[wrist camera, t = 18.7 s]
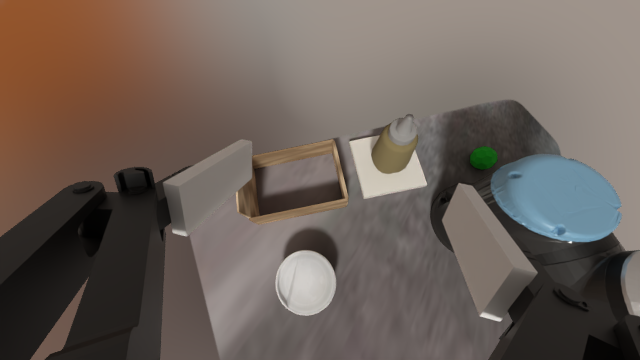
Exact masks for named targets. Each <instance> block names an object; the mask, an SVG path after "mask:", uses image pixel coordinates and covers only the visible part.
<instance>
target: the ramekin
mask: <svg viewBox="0 0 640 360" xmlns="http://www.w3.org/2000/svg"><path fill="white" fill-rule="evenodd" d="M275 285H276V291H277V294H278V297H279V299H280V301H281V302H282V304H283V305H284V306H285V307H286V308H287V309H288V310H290V311H291V312H293V313H296V314H299V315H313V314H316V313H318V312H320V311H322V310H323V309H324V308H326V307H327V306H328V304H329V303H330V302H331V301H332V299H333V296H334V294H335V290H336V276H335V272H334V269H333V267H332V265H331V264H330V262H329V261H328V260H327V259H326V258H325V257H324V256H323V255H321V254H319V253H317V252H315V251H311V250H300V251H296V252H294V253H292V254H290V255H289V256H288V257H286V258H285V259H284V261H283V262H282V263H281V265H280V266H279V268H278V271H277V274H276V281H275Z"/></svg>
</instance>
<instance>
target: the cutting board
mask: <svg viewBox="0 0 640 360" xmlns="http://www.w3.org/2000/svg"><path fill="white" fill-rule="evenodd" d="M379 136H380V135H378V136H373V137H368V138H363V139H358V140H354V141H349V145H350V149H351V153H352V156H353V160H354V164H355V168H356V172H357V176H358V179H359V183H360V187H361V191H362V195H363V198H364V199H366V198H371V197H376V196H381V195H385V194H390V193H395V192H400V191H405V190H410V189H415V188H420V187H424V186H426V185H427V182H426V180H425V177H424V174H423V171H422V168H421V166H420V163H419V160H418V157H417V155H416V152H415V150H414V152H413V154H412V157H411V159H410V161H409V163H408V165H407V166H406V168H405V169H403V170H402V171H400V172H397V173H391V174H385V173H382V172H380V171H378V169H377V168H376V167H375V165H374V163H373V161H372V157H371V153H372V149H373V147H374V145H375V143H376V142H377V140H378V138H379Z"/></svg>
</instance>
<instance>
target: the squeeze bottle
mask: <svg viewBox="0 0 640 360" xmlns="http://www.w3.org/2000/svg"><path fill="white" fill-rule="evenodd" d="M417 143H418V135H417V127H416V125H415V123H414V122H413V115H411V114H408V115H406V117H404V118H399V119H396V120H395V121H393V122H392V123H390V124H389V125H387V126H386V127H385V128H384V130H383V131H382V133H381V135H380V136H379V138H378V140H377V142H376V143H375V145H374V147H373V149H372V153H371V157H372V161H373V163H374V165H375V167H376V168H377V169H378V171H380V172H382V173H385V174H391V173H397V172H400V171H402V170H403V169H405V168H406V166H407V165H408V163H409V161H410V159H411V157H412V154H413V152H414V150H415V148H416V145H417Z"/></svg>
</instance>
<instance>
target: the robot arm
mask: <svg viewBox="0 0 640 360" xmlns="http://www.w3.org/2000/svg"><path fill="white" fill-rule="evenodd" d="M114 178H115V182H116V185H117V188H118V191H119V192H105V189H104V186H103V184H102V183H100V182H95V181H89V182H88V181H84V182H81V183H80V182H78V183H75V184H73V185H70V186H68V187H66V188H64V189H63V190H62V191H60V192H59V193H58V194H56V195H55V196H54V197H52V198H51V199H50V200H48V201H47V202H46V203H44V204H43V205H42V206H40V207H39V208H38V209H37V210H35V211H34V212H33V213H32V214H30V215H29V216H27V217H26V218H25V219H23V220H22V221H21V222H19V223H18V224H17V225H15V226H14V227H13V228H12V229H10V230H9V231H8V232H6V233H5V234H4V235H2V236H1V237H0V360H30V359H31V357H32V356H33V355H34V353H35V352H36V350H37V349H38V348H39V346H40V345H41V343H42V342H43V341H44V339H45V338H46V336H47V335H48V333H49V332H50V331H51V329H52V328H53V326H54V325H55V323H56V322H57V321H58V319H59V318H60V317H61V315H62V314H63V312H64V311H65V309H66V308H67V307H68V305H69V304H70V302H71V301H72V300H73V298H74V297H75V295H76V294H77V293H78V291H79V290H80V288H81V287H82V285H83V284H84V283H85V281H86V280H87V278H88V277H89V279H88V281H87V284H86V287H85V290H84V292H83V295H82V298H81V301H80V304H79V307H78V309H77V313H76V315H75V318H74V321H73V324H72V326H71V329H70V332H69V335H68V338H67V341H66V344H65V345H64V347H63V349H62V350H61V351H58V352H55V353H52V354H50V355H49V356H48V357H47V358H46V359H45V360H160V348H161V326H162V305H163V282H164V260H165V238H166V233H165V227H166V226H167V225H169V224H170V223H171V226H172V231H173V233H176V234H179V235H183V236H188V235H189V234H191V233H192V232H193V231H194V230H195V229H196V228H197V227H198V226H199V225H201V224H202V223H203V222H204V221H205V220H206V219H207V218H208V217H209V216H211V215H212V214H213V213H214V212H215V211H216V210H217V209H218V208H219V207H221V206H222V205H223V204H224V203H225V202H226V201H227V200H228V199H229V198H230V197H232V196H233V195H234V194H235V193H236V192H237V191H238V190H239V189H240V188H242V187H243V186H244V185H245V184H246V183H247V182H248V181H249V180H250V179H252V141H247V140H242V139H241V140H239V141H237V142H235V143H234V144H232V145H230V146H228V147H226V148H224V149H223V150H221V151H219V152H217V153H215V154H214V155H212V156H210V157H208V158H206V159H205V160H203V161H201V162H199V163H197V164H195V165H192V166H188V167H185V168H183V169H181V170H179V171H178V172H176V173H174V174H172V175H171V176H168V177H166V178H164V179H163V180H161V181H159V182H157V183H154V178H153V174H152V171H151V170H150V169H149V168H144V167H134V168H127V169H123V170H120V171H118V172H116V173H115V174H114ZM620 207H621V202H620V199H619V197H618V195H617V193H616V191H615V190H614V188H613V187H612V185H611V184H610V183H609V182H608V181H607V180H606V179H605V178H604V177H603V176H602V175H601V174H599V173H598V172H597V171H595V170H594V169H593V168H591V167H589V166H588V165H586V164H584V163H582V162H579V161H577V160H574V159H567V158H565V157H563V156H560V155H554V154H536V155H531V156H527V157H524V158H521V159H519V160H517V161H515V162H511V163H508V164H506V165H504V166H502V167H500V169H498V170H497V171H496V172H494V173H492V174H490V175H489V176H487V177H485V178H483V179H482V180H480V181H478V182H476V183H463V184H461V183H458V185H454V186H452V187H450V188H448V189H446V190H445V191H443V192H442V193H441V194H440V195H439V196H438V197H437V198H436V199H435V201H434V203H433V205H432V209H431V223H432V227H433V230H434V232H435V234H436V236H437V237H438V239H439V240H440V241H441V242H442V244H443V245H444V246H446V247H447V248H448V249H449V250H451V251H452V252H454V253H455V255H456V258H457V260H458V263H459V265H460V268H461V270H462V273H463V275H464V278H465V280H466V283H467V285H468V288H469V290H470V293H471V296H472V298H473V301H474V303H475V306H476V308H477V311H478V313H479V316H481V317H485V318H488V319H492V320H496V321H501V320H502V319H503V317H504V316H505V315H506V313H507V312H508V313H509V315H510V317H511V319H512V321H513V322H512V323H511V324H510V326H509V327H508V328H507V329H506V331H505V332H504V333H503V334H502V336H501V337H500V338H499V339H500V341H499V343H498V345H497V346H496V348H495V350H494V351H493V353H492V354H491V356H490V358H489V359H488V360H640V250H636V251H625V249H624V248H623V247H622V245H621V244H620V242H619V241H618V240H617V238H616V237H615V236H614V234H613V233H612V232H613V231H614V230H615V229H616V227H617V226H618V224H619V223H620V220H621V216H622V214H621V213H620V212H619V211H617V209H618V208H620Z"/></svg>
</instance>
